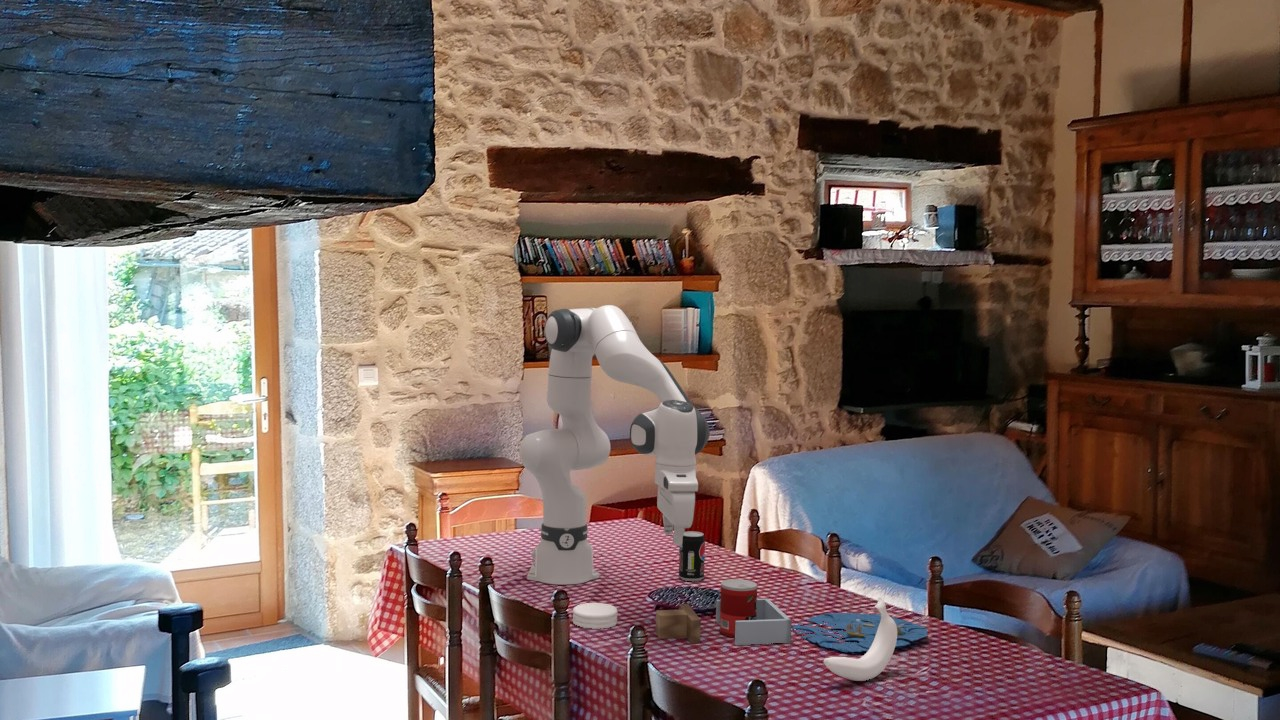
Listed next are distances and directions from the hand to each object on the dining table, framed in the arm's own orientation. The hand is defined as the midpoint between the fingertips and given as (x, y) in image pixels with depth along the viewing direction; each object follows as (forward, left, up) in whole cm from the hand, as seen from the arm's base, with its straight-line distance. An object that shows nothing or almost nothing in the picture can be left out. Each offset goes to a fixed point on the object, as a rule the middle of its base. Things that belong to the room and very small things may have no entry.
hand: (672, 539), depth 234 cm
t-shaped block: (+2, 0, -21) cm, 21 cm away
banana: (+33, +31, -21) cm, 50 cm away
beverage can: (-44, +15, -21) cm, 51 cm away
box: (+2, +18, -21) cm, 27 cm away
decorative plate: (+6, +41, -21) cm, 46 cm away
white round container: (-9, -15, -21) cm, 27 cm away
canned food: (+2, +15, -21) cm, 25 cm away
